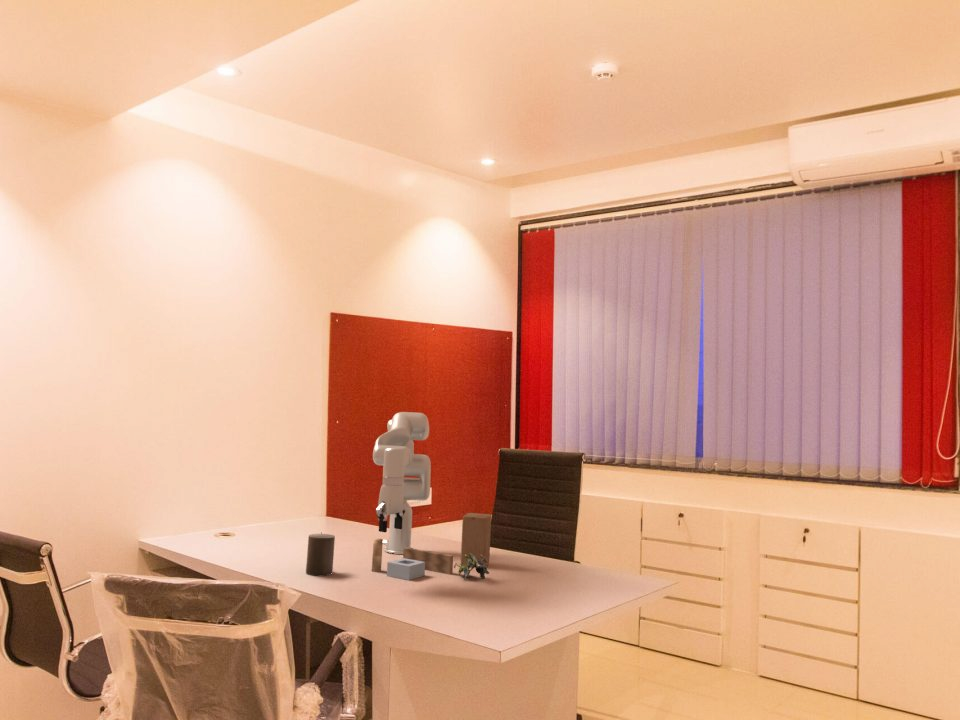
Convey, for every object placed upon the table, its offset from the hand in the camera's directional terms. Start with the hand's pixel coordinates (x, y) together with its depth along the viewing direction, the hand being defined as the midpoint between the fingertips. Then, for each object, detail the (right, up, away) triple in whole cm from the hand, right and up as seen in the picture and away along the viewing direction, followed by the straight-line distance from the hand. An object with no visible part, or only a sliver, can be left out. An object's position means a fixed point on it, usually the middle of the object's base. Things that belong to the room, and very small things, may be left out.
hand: (390, 530), depth 277 cm
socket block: (+5, -19, +8) cm, 21 cm away
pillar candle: (-27, -18, +8) cm, 33 cm away
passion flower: (+29, -21, +9) cm, 37 cm away
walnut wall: (+12, -20, +20) cm, 31 cm away
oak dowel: (-7, -19, +14) cm, 25 cm away
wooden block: (+30, -22, +34) cm, 50 cm away
